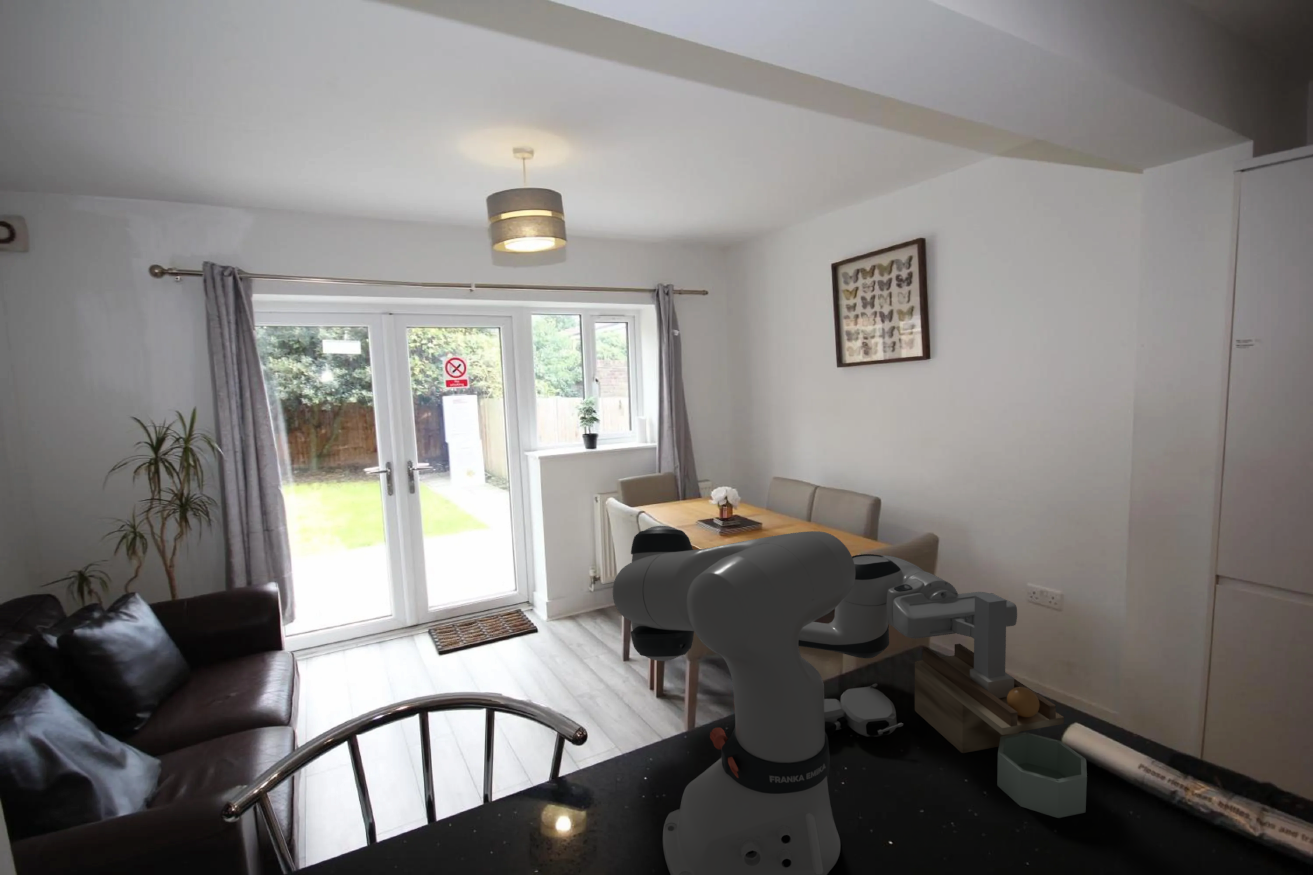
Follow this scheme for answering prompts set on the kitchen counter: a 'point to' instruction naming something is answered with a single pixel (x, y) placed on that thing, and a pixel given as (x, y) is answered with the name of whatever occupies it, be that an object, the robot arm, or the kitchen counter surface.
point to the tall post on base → (990, 645)
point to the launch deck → (970, 703)
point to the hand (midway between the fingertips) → (987, 635)
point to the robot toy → (861, 712)
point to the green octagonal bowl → (1042, 774)
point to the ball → (1023, 701)
